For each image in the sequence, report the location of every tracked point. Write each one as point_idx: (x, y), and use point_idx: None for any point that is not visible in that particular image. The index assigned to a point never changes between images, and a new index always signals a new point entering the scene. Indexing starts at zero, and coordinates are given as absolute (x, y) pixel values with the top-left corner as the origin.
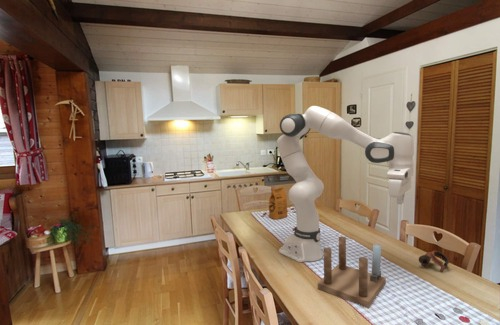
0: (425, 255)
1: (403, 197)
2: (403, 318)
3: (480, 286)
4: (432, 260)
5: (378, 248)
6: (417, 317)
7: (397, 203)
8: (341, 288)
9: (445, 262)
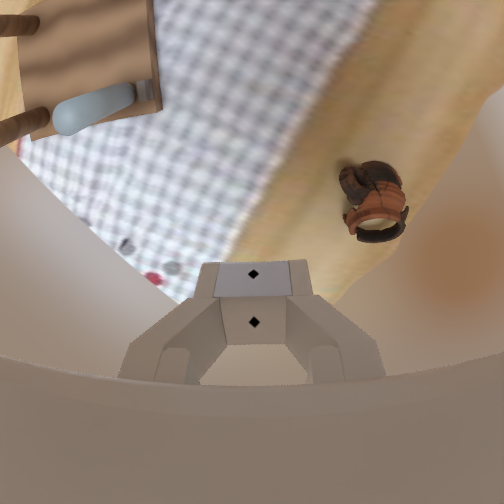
0: (376, 186)
1: (300, 361)
2: (66, 199)
3: (314, 291)
4: (350, 209)
5: (59, 130)
6: (88, 218)
7: (202, 264)
8: (30, 66)
9: (386, 228)
